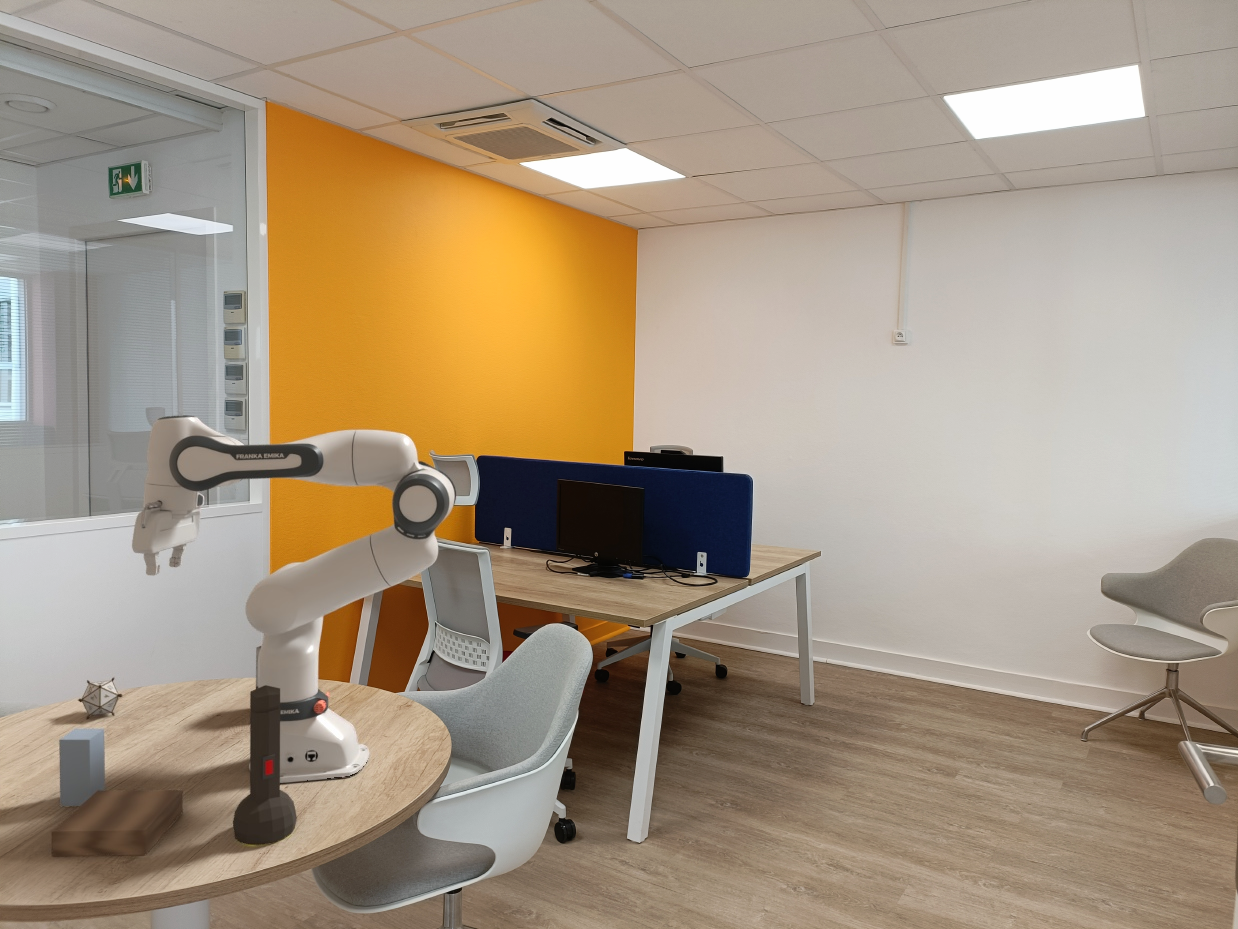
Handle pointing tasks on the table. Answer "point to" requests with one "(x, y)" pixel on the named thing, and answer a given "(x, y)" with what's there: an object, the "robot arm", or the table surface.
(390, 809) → the table surface
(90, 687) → the game die
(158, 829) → the block
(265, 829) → the flashlight
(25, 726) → the table surface
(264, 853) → the table surface
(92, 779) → the slate block
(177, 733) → the table surface
